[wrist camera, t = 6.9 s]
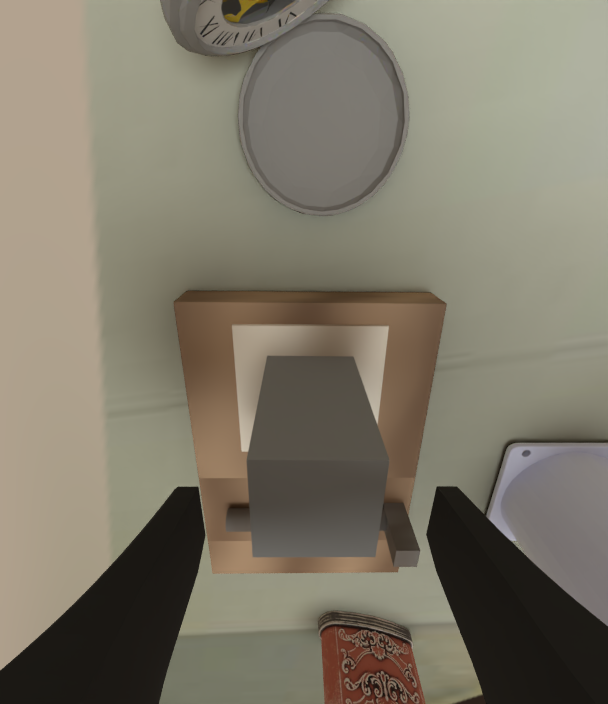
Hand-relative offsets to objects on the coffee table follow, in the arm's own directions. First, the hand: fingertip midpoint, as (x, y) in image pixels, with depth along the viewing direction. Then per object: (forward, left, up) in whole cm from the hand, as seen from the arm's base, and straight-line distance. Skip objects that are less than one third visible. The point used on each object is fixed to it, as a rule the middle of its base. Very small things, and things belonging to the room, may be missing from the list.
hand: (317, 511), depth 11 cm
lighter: (-5, +23, -9) cm, 26 cm away
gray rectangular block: (0, 0, -7) cm, 7 cm away
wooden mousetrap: (0, +4, -9) cm, 10 cm away
